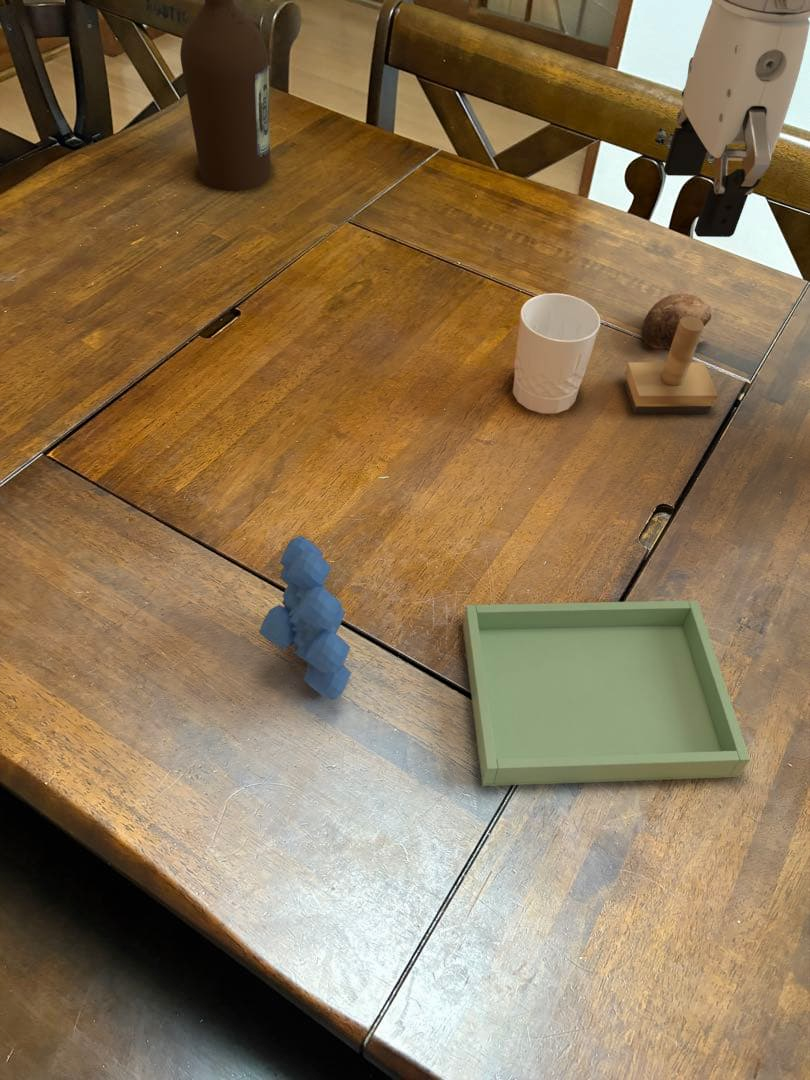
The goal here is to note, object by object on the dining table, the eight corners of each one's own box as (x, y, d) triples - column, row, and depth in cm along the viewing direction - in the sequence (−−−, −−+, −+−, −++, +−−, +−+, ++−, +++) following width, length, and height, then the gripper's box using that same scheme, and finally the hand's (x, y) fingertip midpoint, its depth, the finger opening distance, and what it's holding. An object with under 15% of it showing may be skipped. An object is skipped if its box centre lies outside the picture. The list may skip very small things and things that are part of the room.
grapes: (249, 616, 77) (235, 522, 68) (326, 598, 79) (324, 504, 69) (281, 735, 70) (271, 648, 61) (365, 713, 72) (368, 625, 62)
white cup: (530, 361, 101) (545, 283, 93) (593, 390, 98) (614, 313, 91) (493, 398, 97) (505, 320, 89) (558, 430, 94) (576, 352, 86)
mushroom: (738, 332, 101) (717, 284, 98) (683, 376, 100) (661, 329, 97) (693, 323, 108) (672, 278, 105) (641, 364, 107) (619, 320, 104)
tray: (687, 621, 79) (697, 599, 77) (736, 778, 70) (750, 759, 67) (462, 626, 77) (465, 604, 75) (482, 787, 68) (486, 768, 66)
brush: (696, 383, 100) (725, 306, 92) (709, 417, 96) (741, 340, 89) (621, 383, 99) (643, 306, 92) (632, 417, 96) (656, 340, 88)
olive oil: (191, 194, 120) (162, -17, 101) (201, 154, 127) (175, -51, 108) (272, 196, 121) (259, -13, 102) (278, 157, 127) (266, -46, 108)
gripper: (867, 31, 60) (772, 261, 73) (778, -60, 71) (709, 154, 84) (756, 27, 59) (680, 260, 72) (684, -64, 70) (629, 152, 83)
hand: (696, 203), depth 78 cm, fingers open, 9 cm apart
